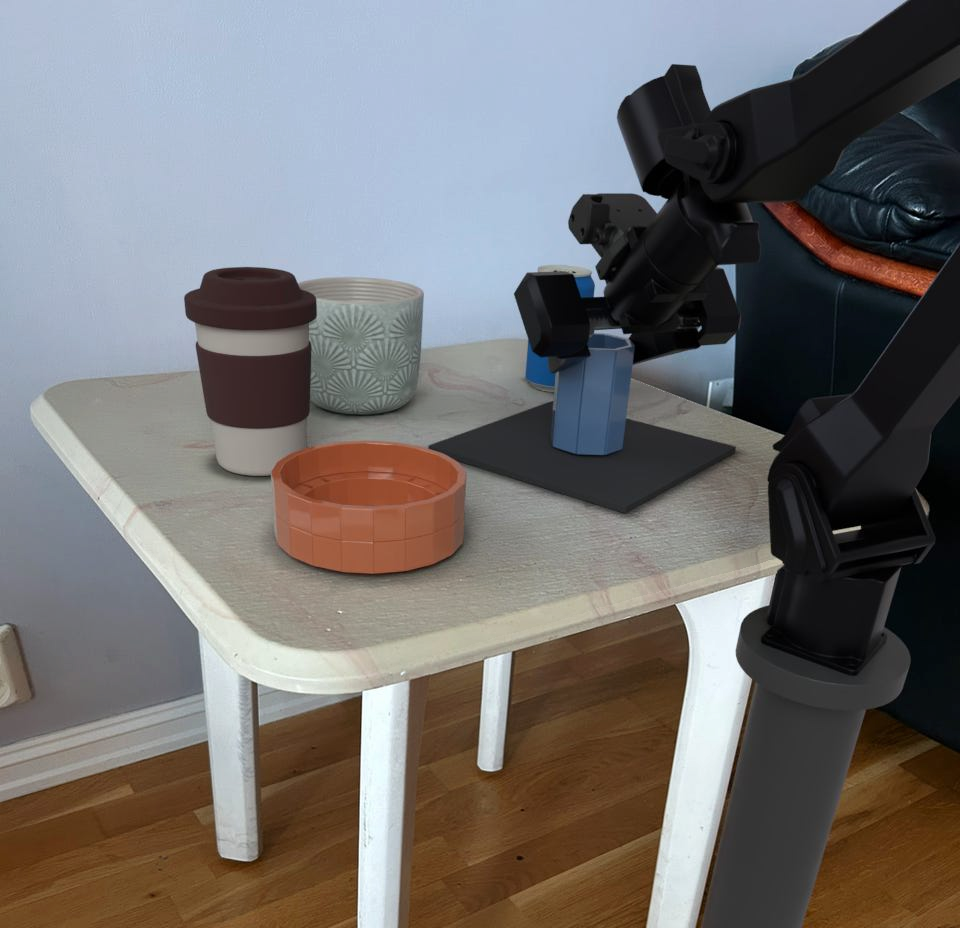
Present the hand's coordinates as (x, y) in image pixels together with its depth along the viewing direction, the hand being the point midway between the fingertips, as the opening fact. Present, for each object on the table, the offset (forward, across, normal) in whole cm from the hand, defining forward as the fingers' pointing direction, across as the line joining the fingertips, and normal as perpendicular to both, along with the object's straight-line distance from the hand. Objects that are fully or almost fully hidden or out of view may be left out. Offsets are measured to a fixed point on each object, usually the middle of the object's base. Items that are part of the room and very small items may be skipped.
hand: (585, 365), depth 86 cm
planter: (+18, +14, -8) cm, 25 cm away
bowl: (-4, +24, +14) cm, 29 cm away
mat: (+4, 0, +6) cm, 8 cm away
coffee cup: (+9, +28, +2) cm, 29 cm away
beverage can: (+18, -8, -8) cm, 21 cm away
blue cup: (+4, 0, +6) cm, 7 cm away
